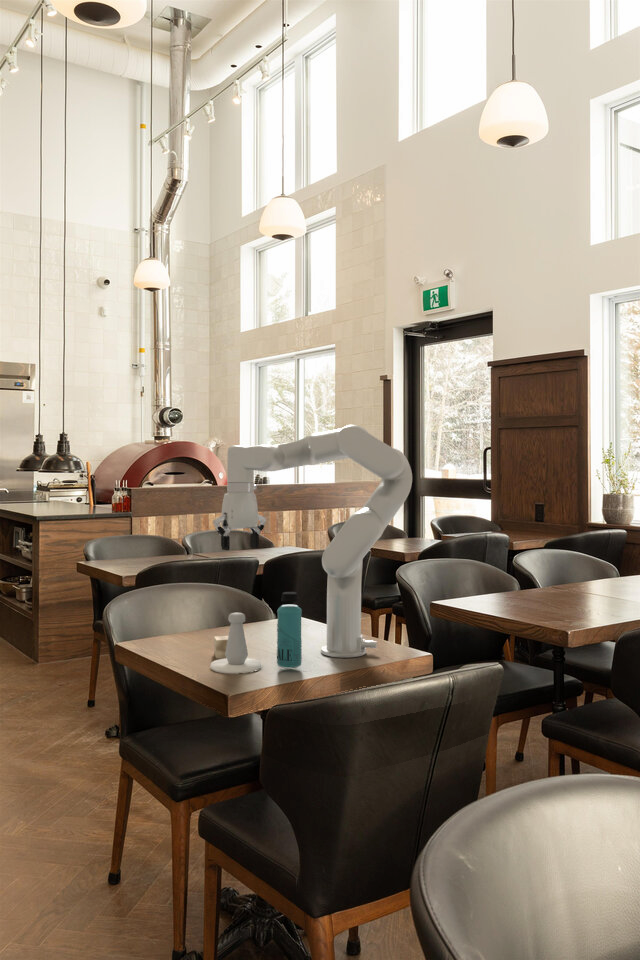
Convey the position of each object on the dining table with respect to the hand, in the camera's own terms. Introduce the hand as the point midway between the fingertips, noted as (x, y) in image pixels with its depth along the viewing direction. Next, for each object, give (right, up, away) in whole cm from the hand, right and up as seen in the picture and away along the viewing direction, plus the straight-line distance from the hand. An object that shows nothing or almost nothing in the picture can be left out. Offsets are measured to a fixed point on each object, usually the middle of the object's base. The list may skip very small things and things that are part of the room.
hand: (240, 548), depth 230 cm
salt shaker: (+1, -28, -22) cm, 35 cm away
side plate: (+1, -29, -22) cm, 36 cm away
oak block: (-3, -29, -9) cm, 30 cm away
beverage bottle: (+15, -29, -24) cm, 41 cm away
